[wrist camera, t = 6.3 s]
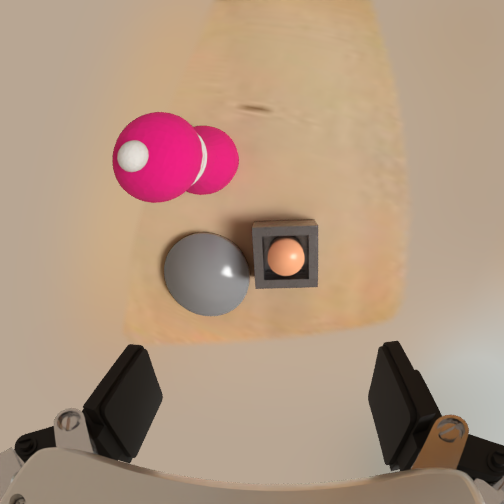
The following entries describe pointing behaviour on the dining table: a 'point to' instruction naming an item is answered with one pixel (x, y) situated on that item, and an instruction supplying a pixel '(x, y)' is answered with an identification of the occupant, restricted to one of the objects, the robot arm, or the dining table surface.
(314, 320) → the dining table surface
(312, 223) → the button housing
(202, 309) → the pad
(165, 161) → the pepper mill
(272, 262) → the button
